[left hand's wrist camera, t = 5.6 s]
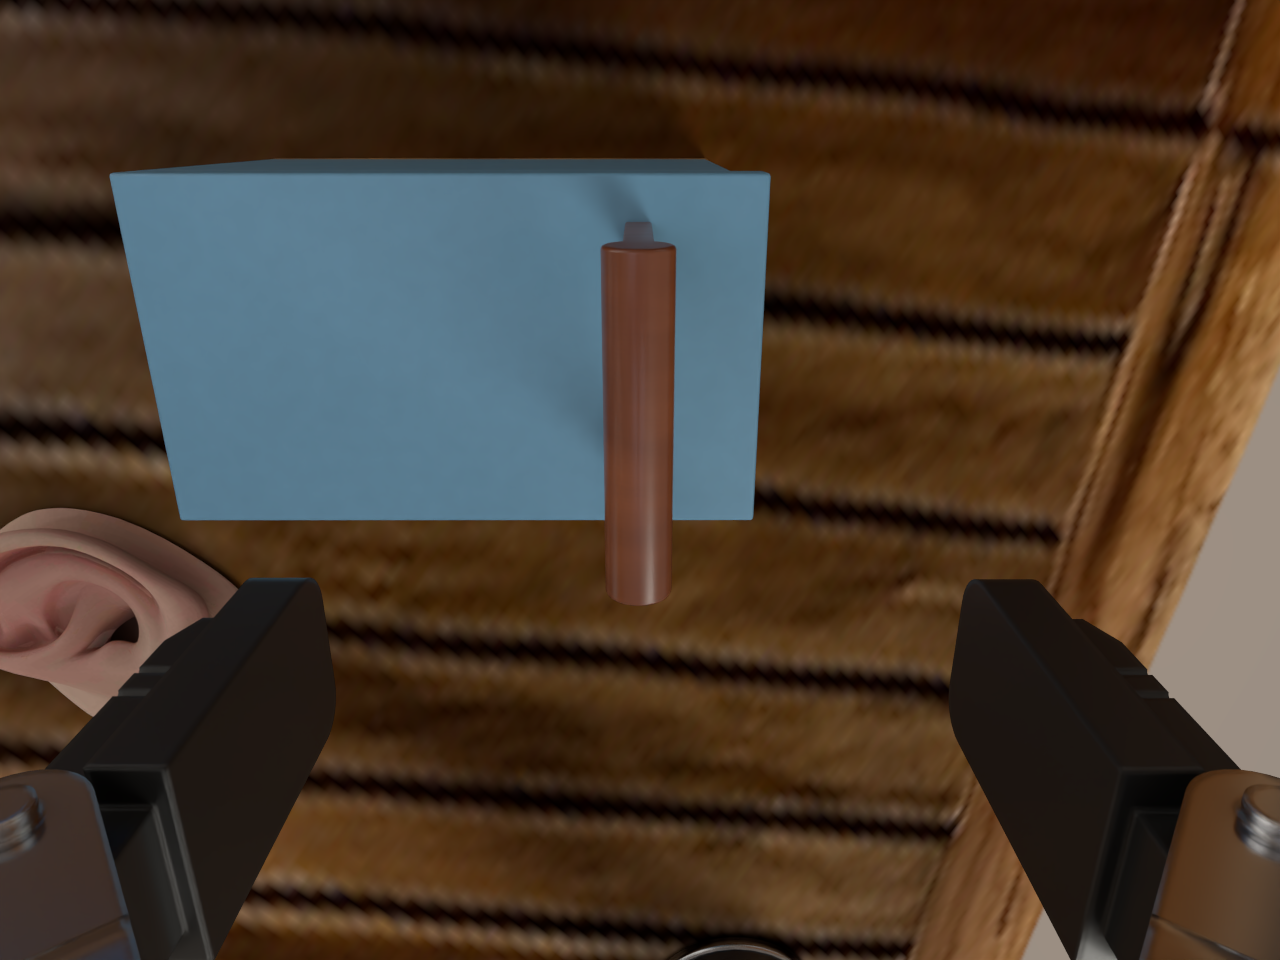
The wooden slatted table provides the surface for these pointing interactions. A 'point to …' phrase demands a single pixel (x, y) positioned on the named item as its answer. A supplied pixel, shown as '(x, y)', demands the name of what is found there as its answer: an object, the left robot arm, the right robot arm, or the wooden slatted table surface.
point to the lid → (457, 346)
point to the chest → (461, 164)
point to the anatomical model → (94, 599)
